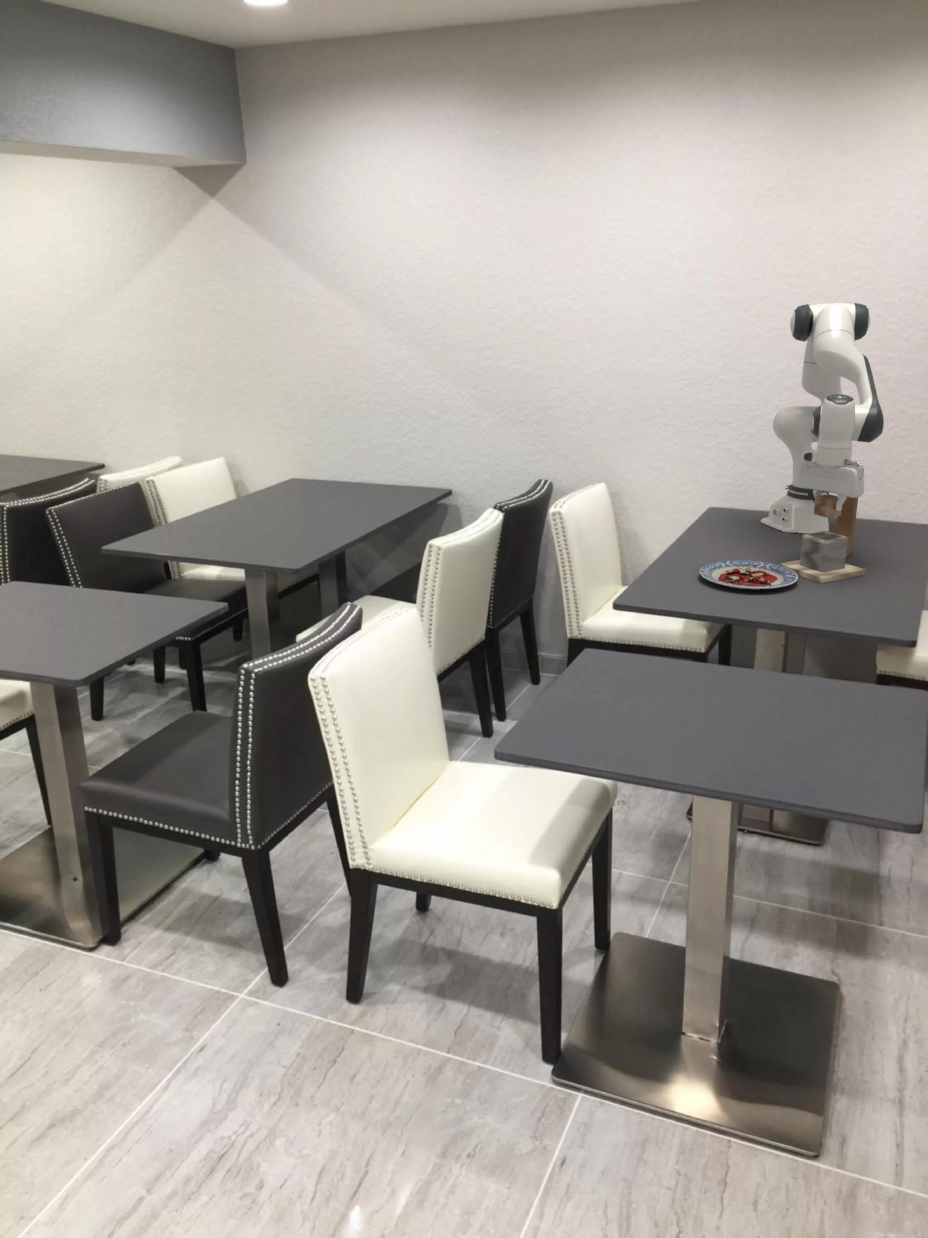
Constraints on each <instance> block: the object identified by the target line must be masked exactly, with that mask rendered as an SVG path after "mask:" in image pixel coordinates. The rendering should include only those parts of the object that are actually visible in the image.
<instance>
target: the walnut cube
mask: <svg viewBox="0 0 928 1238" xmlns="http://www.w3.org/2000/svg"><path fill="white" fill-rule="evenodd" d="M838 499H839V498H837V495H835V494H834V495H833V494H831V493H829V494H827V495H820V496H815V505H814V514H815V515H819V516H823V517H827V518H828V519H829V518H834V517H835V518H836V517H837V516H841V511H842V510H841V511H836V510H833V504H835V503H837V501H838Z"/></svg>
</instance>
